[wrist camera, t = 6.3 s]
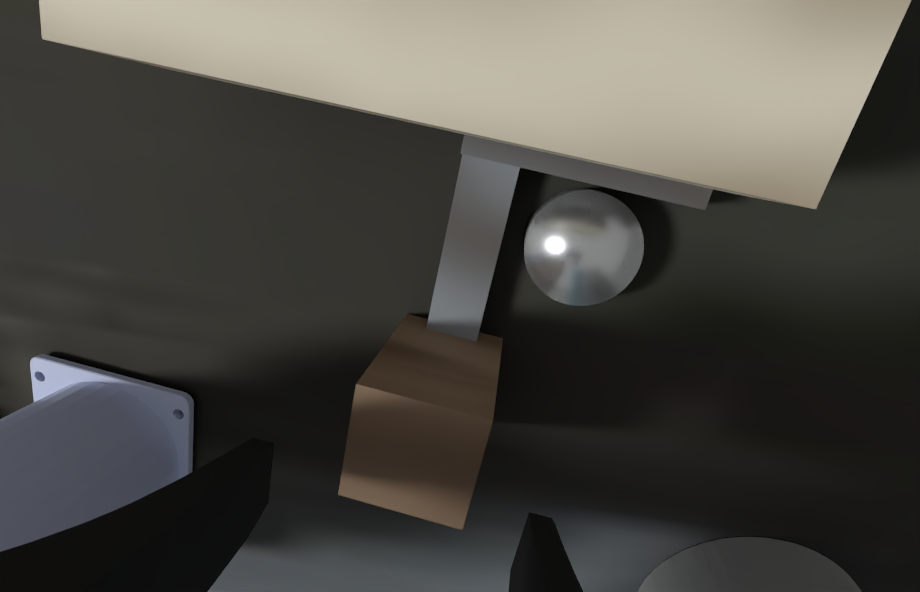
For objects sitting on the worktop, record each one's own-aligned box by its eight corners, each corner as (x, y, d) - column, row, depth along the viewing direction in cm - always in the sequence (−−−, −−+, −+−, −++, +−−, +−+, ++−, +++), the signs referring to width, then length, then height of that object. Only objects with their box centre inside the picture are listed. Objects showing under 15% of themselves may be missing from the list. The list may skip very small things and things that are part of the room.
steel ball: (618, 302, 18) (626, 315, 16) (515, 283, 18) (514, 294, 16) (646, 197, 16) (658, 202, 15) (535, 179, 17) (536, 181, 15)
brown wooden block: (595, 452, 19) (624, 576, 14) (391, 397, 20) (337, 494, 14) (696, 181, 16) (793, 198, 10) (443, 124, 16) (400, 108, 11)
